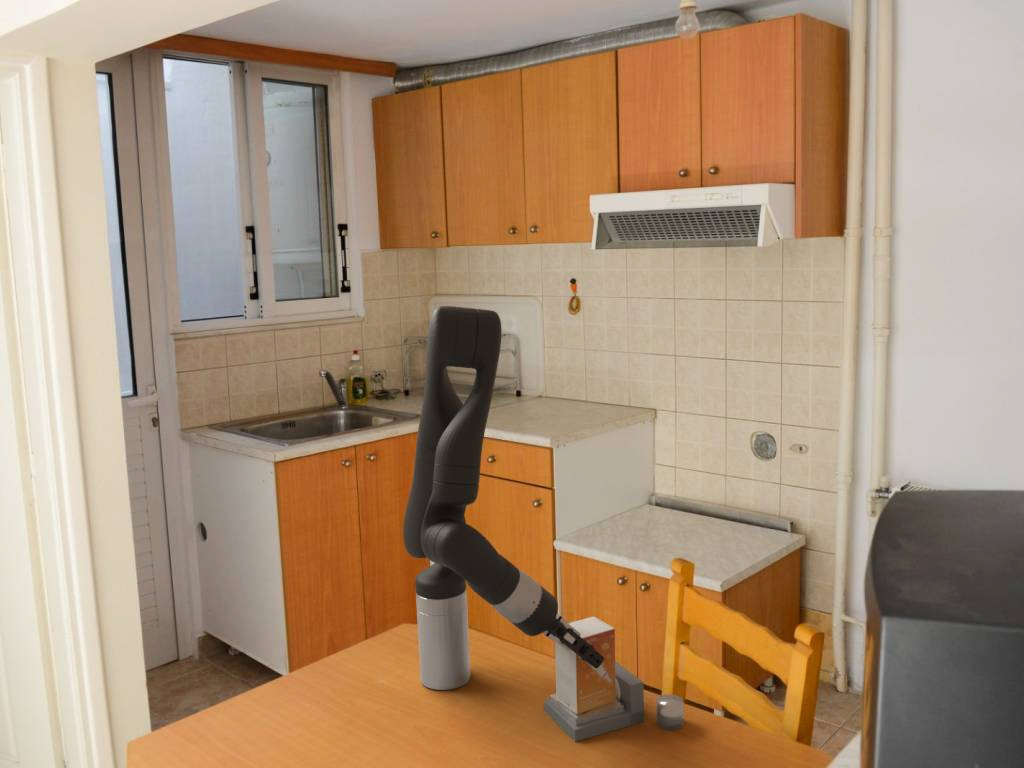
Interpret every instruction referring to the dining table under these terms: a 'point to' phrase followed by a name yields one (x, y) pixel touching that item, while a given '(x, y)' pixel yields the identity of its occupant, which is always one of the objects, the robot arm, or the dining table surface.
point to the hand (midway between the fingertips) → (587, 653)
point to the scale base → (626, 694)
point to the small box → (587, 669)
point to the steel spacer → (670, 712)
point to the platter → (590, 714)
